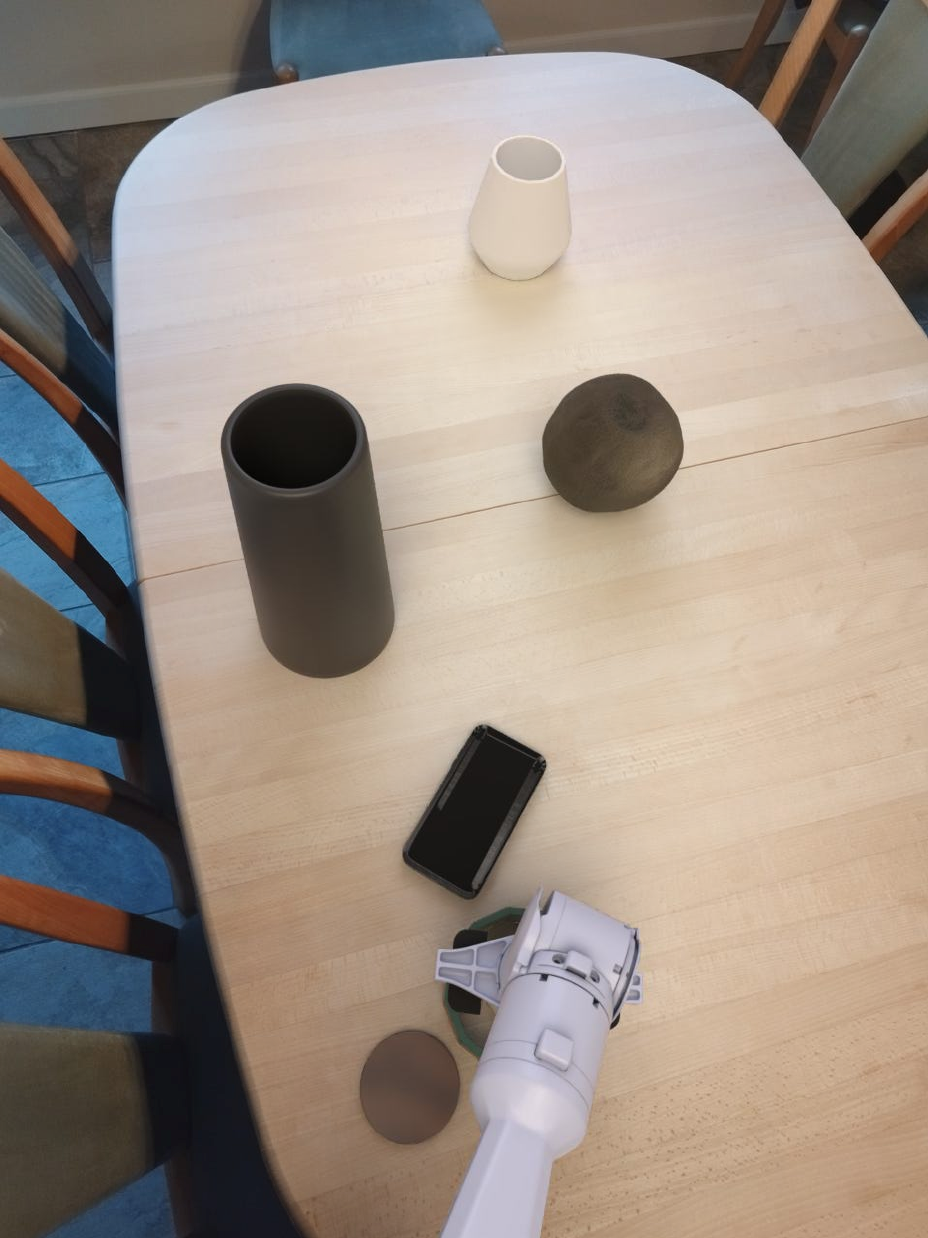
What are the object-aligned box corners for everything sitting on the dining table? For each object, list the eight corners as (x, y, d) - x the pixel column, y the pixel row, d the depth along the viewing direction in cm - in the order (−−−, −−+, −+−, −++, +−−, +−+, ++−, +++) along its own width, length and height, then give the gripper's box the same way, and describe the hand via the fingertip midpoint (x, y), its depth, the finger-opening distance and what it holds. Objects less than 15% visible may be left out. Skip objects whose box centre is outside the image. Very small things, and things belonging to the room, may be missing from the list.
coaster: (453, 1149, 68) (454, 1150, 68) (352, 1137, 68) (352, 1138, 68) (464, 1037, 72) (464, 1037, 71) (368, 1026, 72) (368, 1026, 71)
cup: (490, 208, 118) (499, 108, 106) (581, 241, 116) (602, 143, 104) (448, 269, 112) (453, 171, 100) (543, 305, 110) (560, 210, 98)
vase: (416, 646, 88) (419, 475, 62) (289, 700, 84) (235, 543, 58) (362, 542, 93) (344, 344, 67) (240, 588, 90) (172, 398, 64)
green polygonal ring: (584, 1080, 71) (594, 1082, 67) (436, 1063, 71) (437, 1063, 67) (589, 924, 76) (599, 917, 72) (452, 908, 76) (455, 900, 72)
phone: (550, 760, 82) (473, 903, 75) (549, 763, 83) (472, 905, 76) (478, 719, 83) (396, 856, 77) (477, 723, 84) (396, 859, 78)
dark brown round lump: (548, 548, 94) (571, 464, 80) (523, 444, 100) (541, 350, 87) (672, 535, 95) (715, 450, 82) (641, 434, 102) (676, 340, 88)
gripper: (659, 919, 58) (616, 943, 70) (445, 894, 58) (439, 922, 70) (659, 1035, 55) (614, 1039, 67) (432, 1008, 55) (428, 1017, 67)
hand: (524, 985), depth 68 cm, fingers open, 7 cm apart
